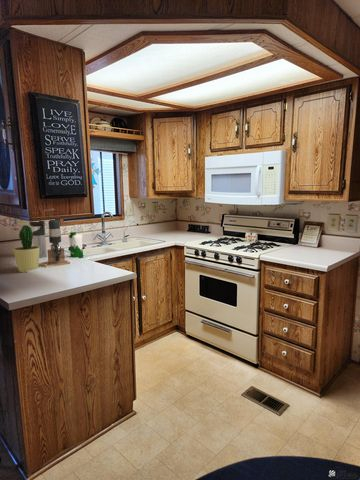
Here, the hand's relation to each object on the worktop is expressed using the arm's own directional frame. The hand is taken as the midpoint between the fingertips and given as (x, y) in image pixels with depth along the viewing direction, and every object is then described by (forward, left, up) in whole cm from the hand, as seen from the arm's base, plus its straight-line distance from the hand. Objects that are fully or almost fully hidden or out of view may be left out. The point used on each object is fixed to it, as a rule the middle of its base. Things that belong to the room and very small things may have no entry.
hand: (56, 260), depth 214 cm
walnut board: (0, 0, -4) cm, 4 cm away
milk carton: (-20, +22, -5) cm, 30 cm away
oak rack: (-3, 0, -4) cm, 5 cm away
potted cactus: (-2, -18, -5) cm, 18 cm away
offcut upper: (-5, 0, -3) cm, 5 cm away
